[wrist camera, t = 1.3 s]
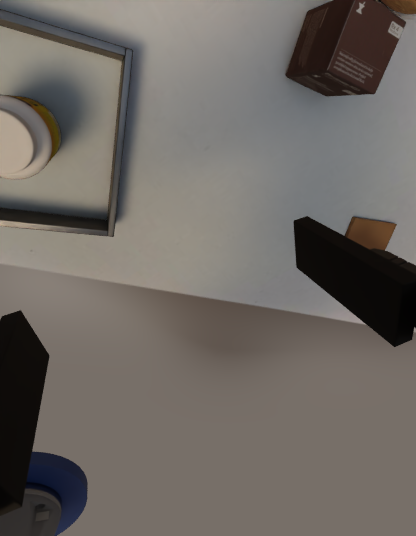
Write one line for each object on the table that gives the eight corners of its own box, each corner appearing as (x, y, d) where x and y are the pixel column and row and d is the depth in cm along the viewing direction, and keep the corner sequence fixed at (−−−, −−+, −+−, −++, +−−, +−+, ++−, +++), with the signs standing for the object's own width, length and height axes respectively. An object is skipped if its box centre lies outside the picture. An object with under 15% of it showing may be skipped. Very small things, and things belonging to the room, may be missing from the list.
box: (283, 76, 33) (325, 70, 27) (306, 9, 31) (358, -15, 25) (326, 97, 36) (375, 96, 30) (351, 36, 34) (409, 21, 28)
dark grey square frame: (112, 225, 35) (113, 237, 32) (-72, 205, 29) (-91, 217, 26) (129, 55, 29) (133, 49, 26) (-101, -14, 23) (-131, -32, 20)
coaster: (371, 271, 51) (374, 272, 50) (331, 267, 48) (334, 269, 47) (393, 223, 47) (396, 224, 47) (352, 216, 45) (355, 218, 44)
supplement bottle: (52, 95, 28) (33, 91, 20) (68, 160, 31) (57, 182, 22) (-19, 97, 27) (-72, 94, 18) (4, 165, 30) (-35, 191, 21)
